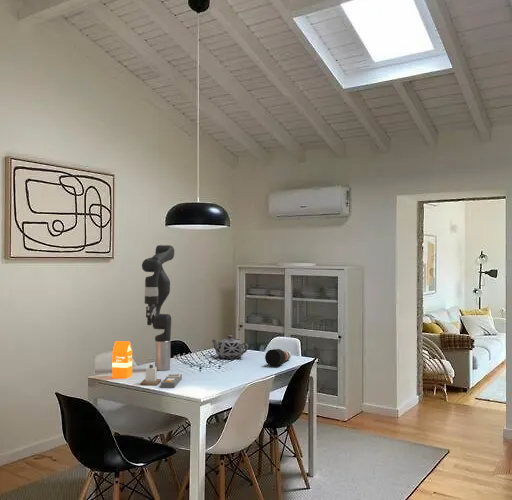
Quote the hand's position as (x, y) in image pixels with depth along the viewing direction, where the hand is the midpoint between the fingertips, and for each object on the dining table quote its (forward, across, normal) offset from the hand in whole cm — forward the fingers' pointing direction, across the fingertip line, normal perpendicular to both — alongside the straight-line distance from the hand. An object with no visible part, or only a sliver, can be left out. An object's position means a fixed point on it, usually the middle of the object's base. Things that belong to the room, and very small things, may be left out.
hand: (151, 324), depth 308 cm
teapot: (+30, -70, +37) cm, 85 cm away
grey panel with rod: (+30, +7, +14) cm, 34 cm away
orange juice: (+30, -3, -17) cm, 35 cm away
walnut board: (+30, +12, +3) cm, 33 cm away
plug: (+29, +12, +3) cm, 31 cm away
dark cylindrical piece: (+30, -53, +73) cm, 95 cm away
